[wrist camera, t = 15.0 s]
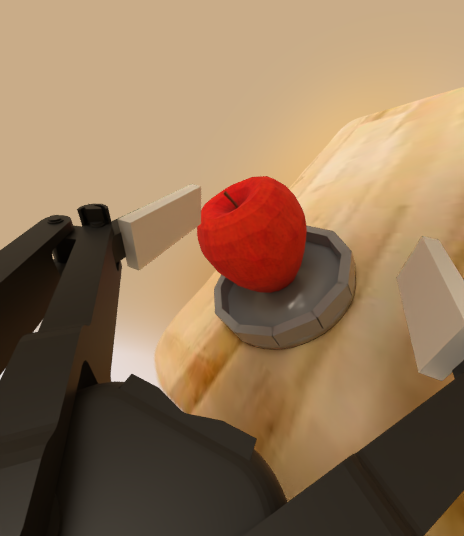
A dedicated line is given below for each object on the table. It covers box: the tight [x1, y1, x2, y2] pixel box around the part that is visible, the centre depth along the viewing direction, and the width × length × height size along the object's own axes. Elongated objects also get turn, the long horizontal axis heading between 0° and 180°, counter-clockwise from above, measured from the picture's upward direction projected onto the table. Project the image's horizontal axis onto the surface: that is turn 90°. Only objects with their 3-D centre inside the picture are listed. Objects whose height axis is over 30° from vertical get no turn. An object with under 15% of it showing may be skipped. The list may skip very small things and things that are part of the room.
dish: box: [214, 226, 356, 349], centre depth 31 cm, size 17×18×3 cm
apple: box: [197, 176, 307, 293], centre depth 28 cm, size 12×12×13 cm
